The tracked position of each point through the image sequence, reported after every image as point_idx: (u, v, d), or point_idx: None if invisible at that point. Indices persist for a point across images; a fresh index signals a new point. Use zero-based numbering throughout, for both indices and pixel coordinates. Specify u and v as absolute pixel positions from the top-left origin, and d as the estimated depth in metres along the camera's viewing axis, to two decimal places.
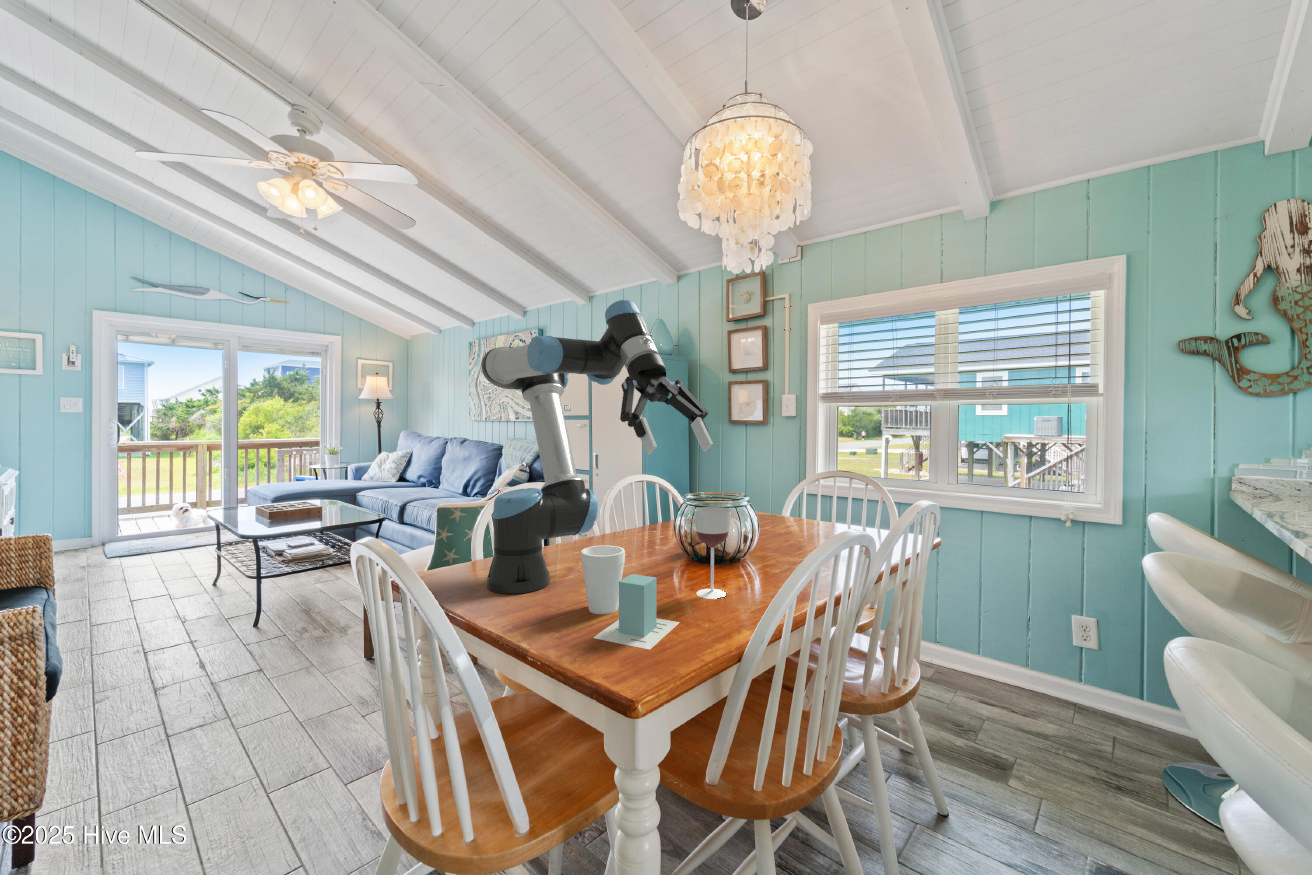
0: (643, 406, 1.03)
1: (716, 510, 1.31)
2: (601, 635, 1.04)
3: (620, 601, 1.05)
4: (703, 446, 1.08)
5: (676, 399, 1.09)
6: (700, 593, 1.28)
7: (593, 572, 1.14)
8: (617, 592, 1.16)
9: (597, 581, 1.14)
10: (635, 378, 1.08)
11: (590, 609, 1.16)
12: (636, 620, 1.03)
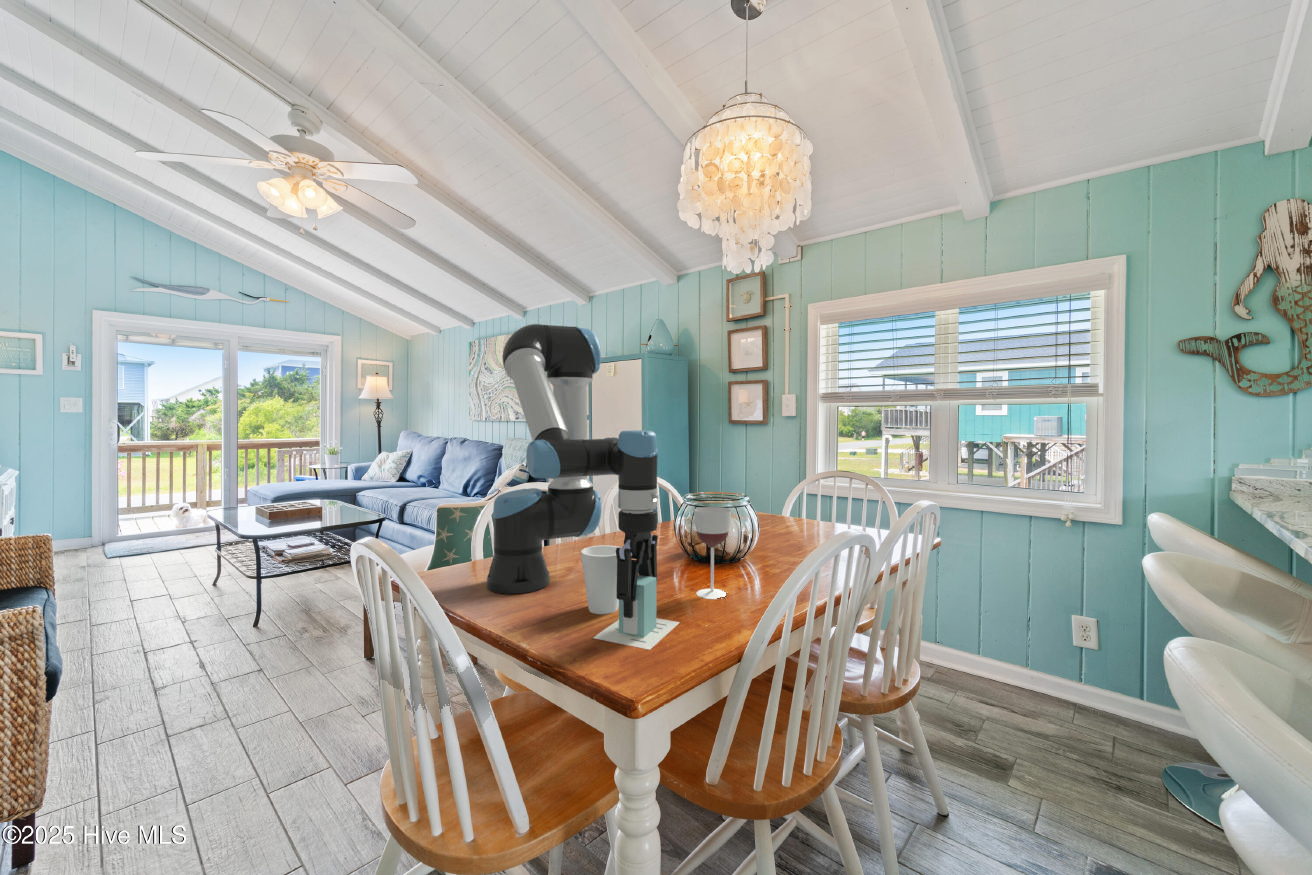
0: (636, 582, 1.03)
1: (716, 510, 1.31)
2: (601, 635, 1.04)
3: (620, 601, 1.05)
4: None
5: (645, 561, 1.07)
6: (700, 593, 1.28)
7: (593, 572, 1.14)
8: None
9: (597, 581, 1.14)
10: (629, 535, 1.02)
11: (590, 609, 1.16)
12: None
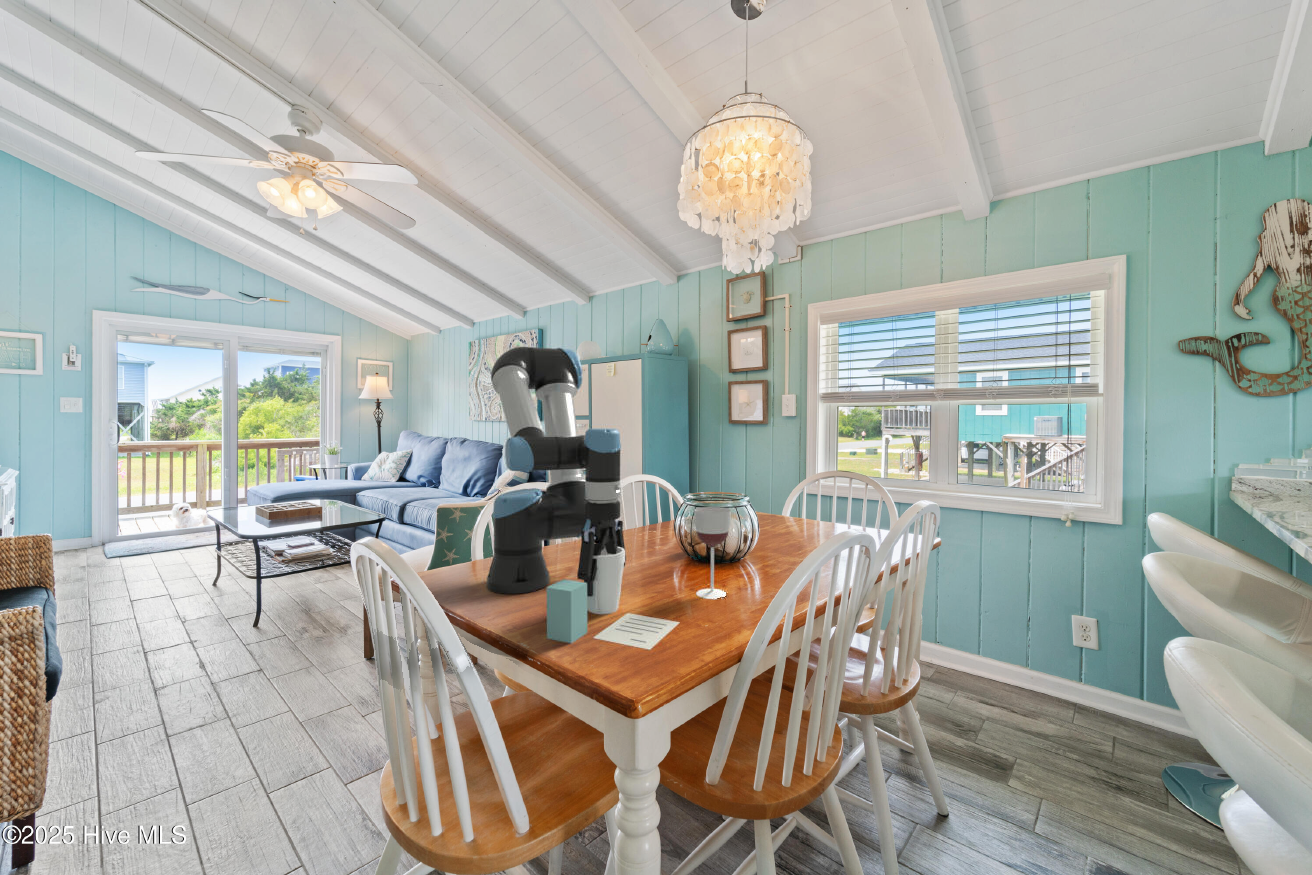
0: None
1: (716, 510, 1.31)
2: (601, 635, 1.04)
3: None
4: None
5: (612, 545, 1.19)
6: (700, 593, 1.28)
7: None
8: (617, 592, 1.16)
9: (597, 581, 1.14)
10: (594, 523, 1.14)
11: None
12: None
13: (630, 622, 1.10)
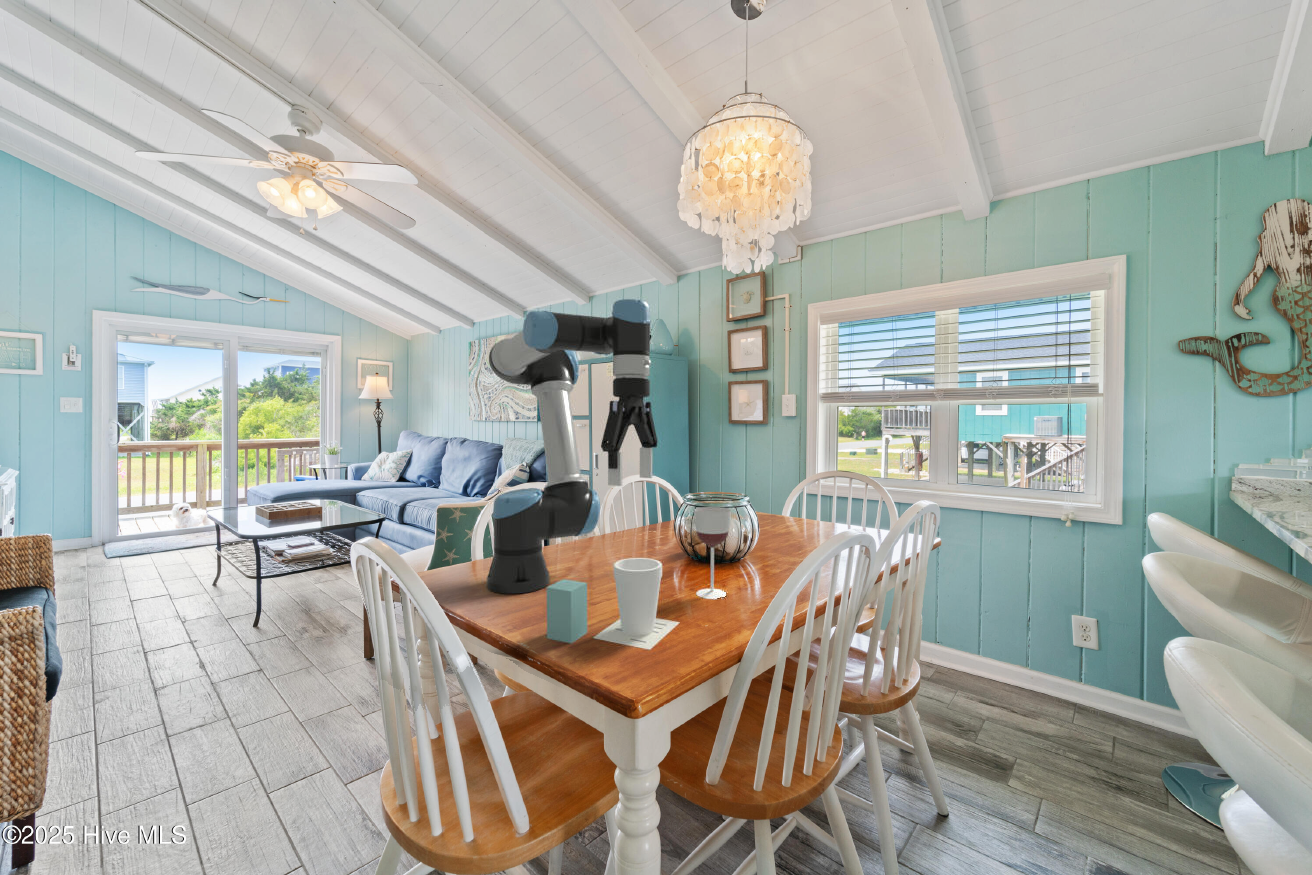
0: (623, 438, 1.05)
1: (716, 510, 1.31)
2: (601, 635, 1.04)
3: None
4: (642, 474, 1.18)
5: (642, 426, 1.14)
6: (700, 593, 1.28)
7: (628, 588, 1.02)
8: (654, 610, 1.05)
9: (632, 598, 1.02)
10: (622, 398, 1.07)
11: (624, 629, 1.05)
12: None
13: None
